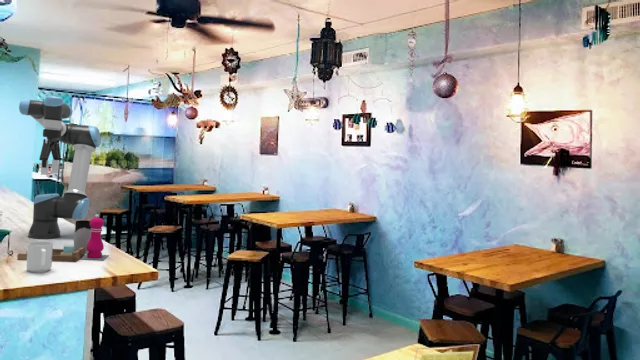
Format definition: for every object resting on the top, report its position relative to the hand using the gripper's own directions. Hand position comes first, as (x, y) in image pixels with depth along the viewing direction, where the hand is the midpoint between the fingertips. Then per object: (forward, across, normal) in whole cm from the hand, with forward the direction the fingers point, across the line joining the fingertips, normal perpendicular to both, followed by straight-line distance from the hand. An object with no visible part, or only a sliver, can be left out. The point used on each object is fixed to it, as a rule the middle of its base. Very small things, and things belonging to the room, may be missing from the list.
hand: (49, 174), depth 227 cm
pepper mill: (+36, +11, +25) cm, 46 cm away
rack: (+37, +14, +8) cm, 40 cm away
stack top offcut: (+34, +14, +14) cm, 39 cm away
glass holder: (+37, -2, +16) cm, 40 cm away
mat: (+37, +11, +25) cm, 46 cm away
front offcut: (+37, +14, 0) cm, 40 cm away
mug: (+37, +38, +11) cm, 54 cm away
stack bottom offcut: (+37, +14, +14) cm, 42 cm away
